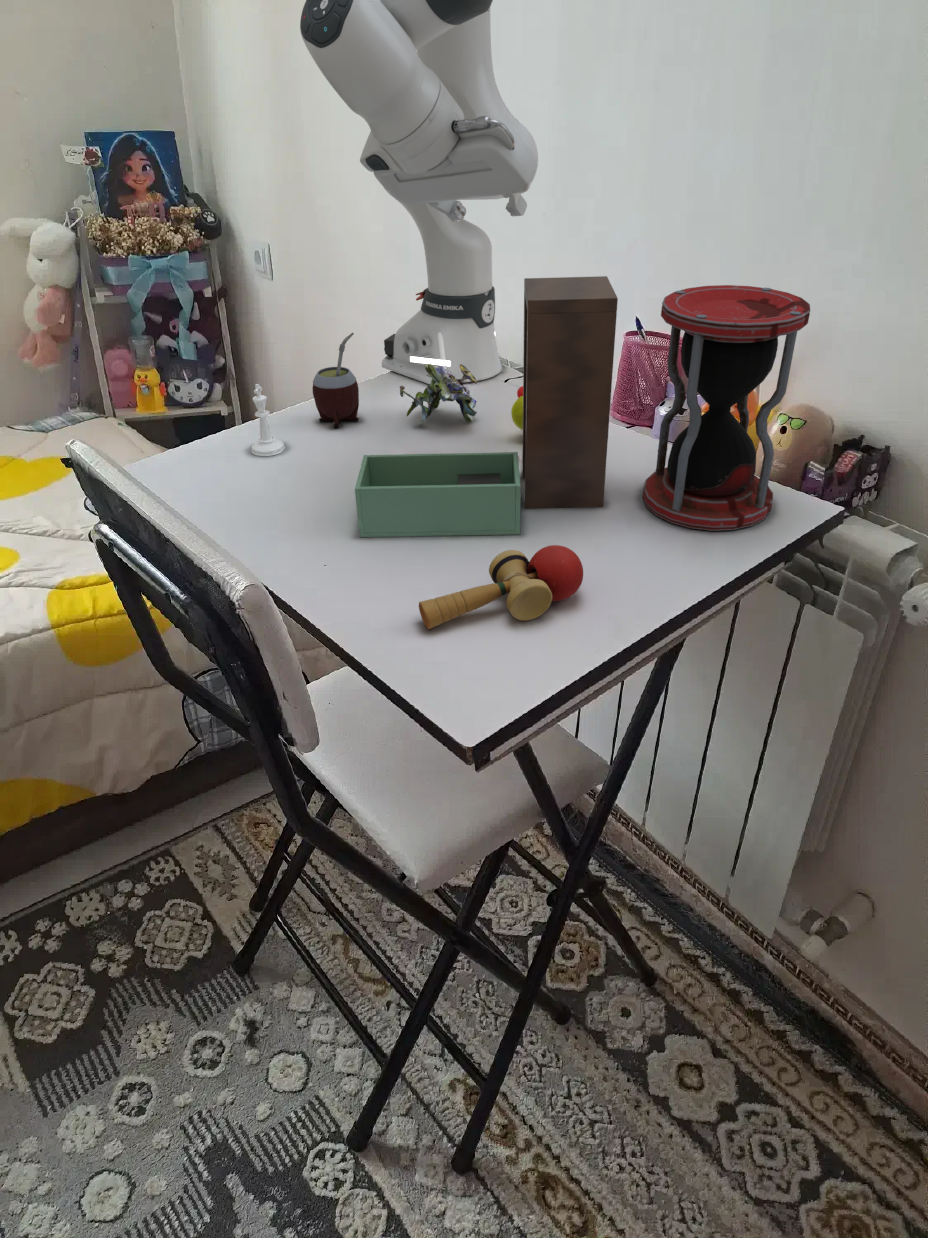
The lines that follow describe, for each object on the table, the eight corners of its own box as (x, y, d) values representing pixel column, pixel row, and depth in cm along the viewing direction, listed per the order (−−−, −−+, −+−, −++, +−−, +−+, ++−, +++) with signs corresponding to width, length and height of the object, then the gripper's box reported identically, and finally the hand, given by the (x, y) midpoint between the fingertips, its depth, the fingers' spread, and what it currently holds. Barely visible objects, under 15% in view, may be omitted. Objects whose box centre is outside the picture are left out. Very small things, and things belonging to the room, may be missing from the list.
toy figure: (553, 463, 121) (555, 418, 118) (514, 465, 122) (514, 419, 118) (543, 416, 136) (544, 374, 132) (508, 417, 136) (508, 375, 132)
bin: (359, 537, 106) (354, 488, 102) (368, 501, 114) (363, 454, 110) (520, 534, 105) (520, 485, 101) (517, 498, 113) (517, 451, 109)
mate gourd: (321, 413, 140) (309, 319, 131) (369, 412, 140) (360, 318, 131) (312, 431, 134) (299, 333, 125) (363, 430, 133) (353, 333, 125)
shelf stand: (525, 508, 111) (527, 300, 96) (522, 474, 119) (524, 278, 104) (603, 506, 110) (617, 297, 96) (594, 473, 119) (607, 275, 104)
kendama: (442, 661, 87) (601, 601, 90) (427, 607, 84) (592, 547, 87) (421, 631, 93) (569, 577, 97) (406, 580, 91) (560, 526, 94)
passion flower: (467, 452, 139) (496, 406, 128) (404, 454, 134) (429, 406, 124) (449, 395, 142) (476, 346, 132) (388, 394, 138) (410, 343, 128)
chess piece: (290, 444, 130) (280, 379, 124) (276, 457, 126) (265, 391, 120) (260, 441, 131) (249, 377, 125) (245, 454, 127) (233, 389, 121)
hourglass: (730, 545, 101) (766, 331, 87) (617, 504, 111) (634, 305, 96) (794, 498, 111) (836, 298, 96) (685, 464, 120) (709, 276, 106)
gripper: (507, 88, 87) (569, 183, 98) (369, 116, 100) (438, 198, 111) (485, 141, 87) (550, 231, 97) (349, 163, 99) (420, 241, 110)
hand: (489, 214), depth 104 cm, fingers open, 8 cm apart
